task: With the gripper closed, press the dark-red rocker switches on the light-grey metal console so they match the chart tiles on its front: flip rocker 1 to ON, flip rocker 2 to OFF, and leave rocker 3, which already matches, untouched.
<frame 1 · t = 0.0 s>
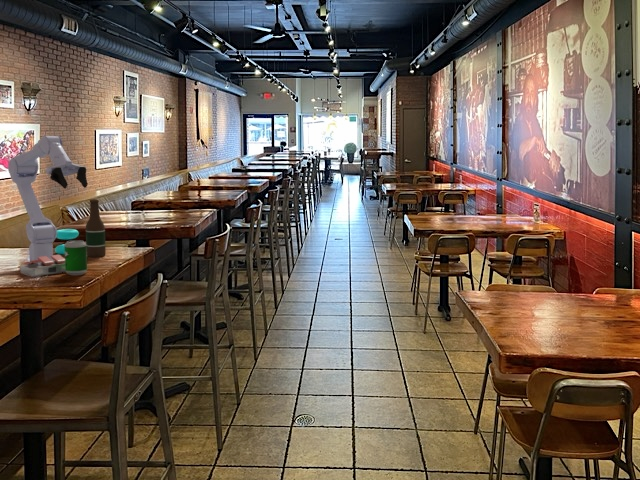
hand: (76, 186, 235), 32 cm above the table, tool tilted 50°, fingers open, 7 cm apart
rocker 1: (32, 262, 238), point 4 cm above the table, hinge at -15.0°
soda can: (76, 274, 241), on the table
console: (46, 272, 243), on the table
donuts: (67, 253, 285), on the table
beer bottle: (96, 256, 279), on the table
rocker 2: (45, 260, 242), point 4 cm above the table, hinge at 15.0°
rocker 3: (58, 258, 246), point 4 cm above the table, hinge at 15.0°
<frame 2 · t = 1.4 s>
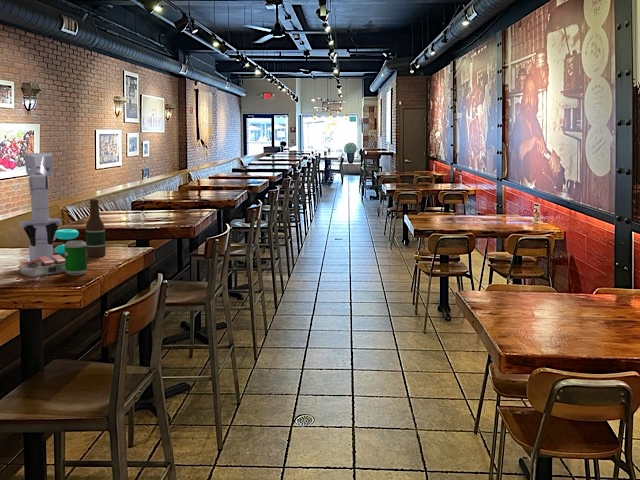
hand: (41, 245, 240), 10 cm above the table, tool pointing down, fingers open, 6 cm apart
nothing on the table moved.
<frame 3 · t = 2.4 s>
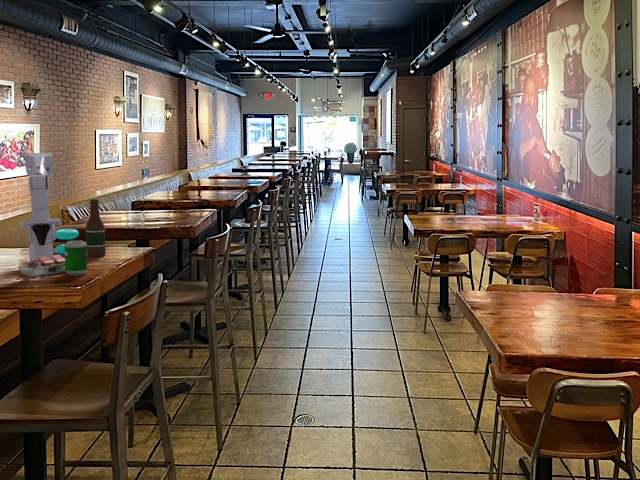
hand: (41, 245, 240), 10 cm above the table, tool pointing down, fingers closed
nothing on the table moved.
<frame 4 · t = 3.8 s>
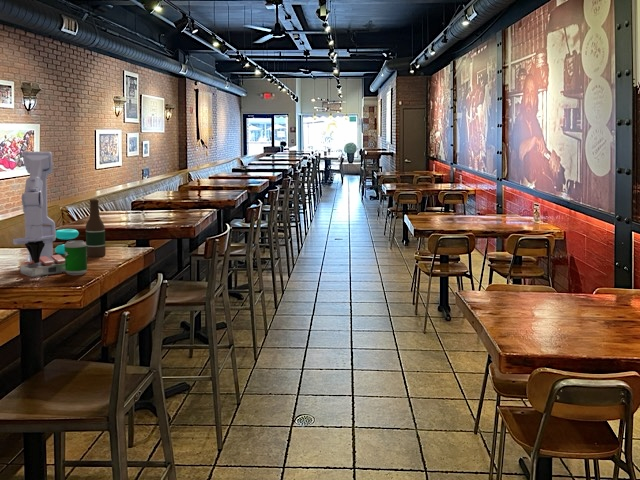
hand: (35, 262, 237), 5 cm above the table, tool pointing down, fingers closed, pressing on rocker 1
rocker 1: (32, 262, 238), point 4 cm above the table, hinge at -13.0°, touching gripper
everything else where it was.
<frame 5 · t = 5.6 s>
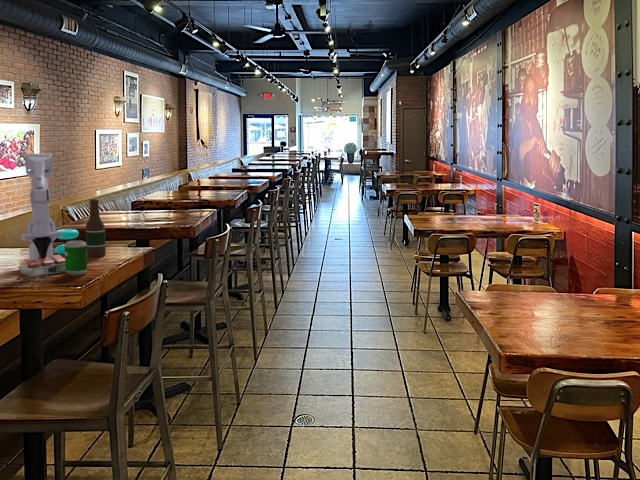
hand: (42, 257, 243), 5 cm above the table, tool pointing down, fingers closed, pressing on rocker 2
rocker 1: (32, 262, 238), point 4 cm above the table, hinge at 11.6°
rocker 2: (45, 260, 242), point 4 cm above the table, hinge at 14.9°, touching gripper
everything else where it was.
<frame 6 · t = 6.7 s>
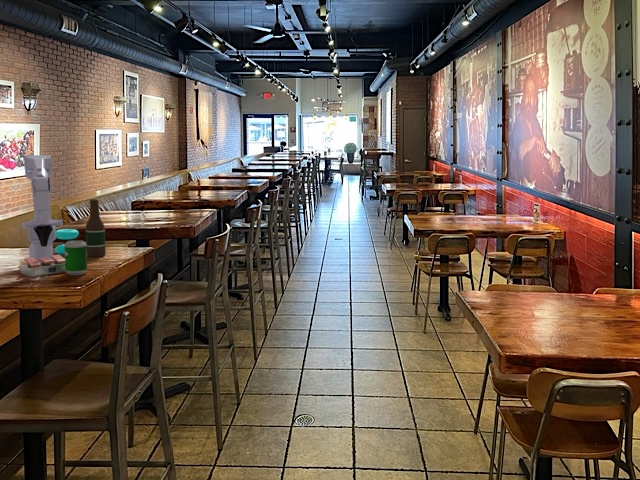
hand: (43, 246, 243), 9 cm above the table, tool pointing down, fingers closed
rocker 1: (32, 262, 238), point 4 cm above the table, hinge at 19.7°, touching console
rocker 2: (45, 260, 242), point 4 cm above the table, hinge at 5.1°
everything else where it was.
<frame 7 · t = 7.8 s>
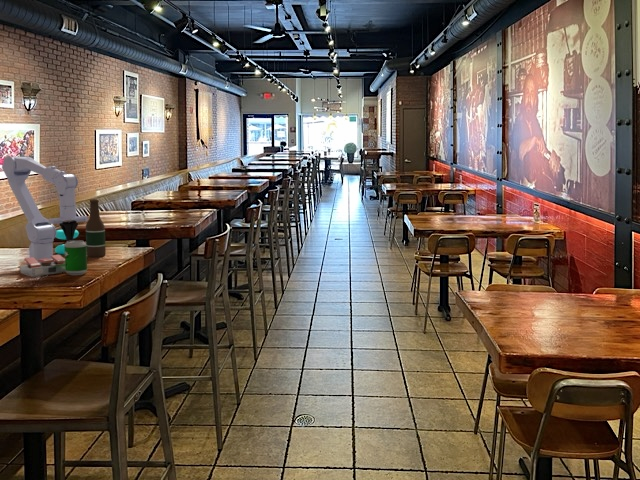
hand: (69, 241, 251), 10 cm above the table, tool pointing down, fingers closed
rocker 1: (32, 262, 238), point 4 cm above the table, hinge at 20.8°, touching console
rocker 2: (45, 260, 242), point 4 cm above the table, hinge at -1.6°
everything else where it was.
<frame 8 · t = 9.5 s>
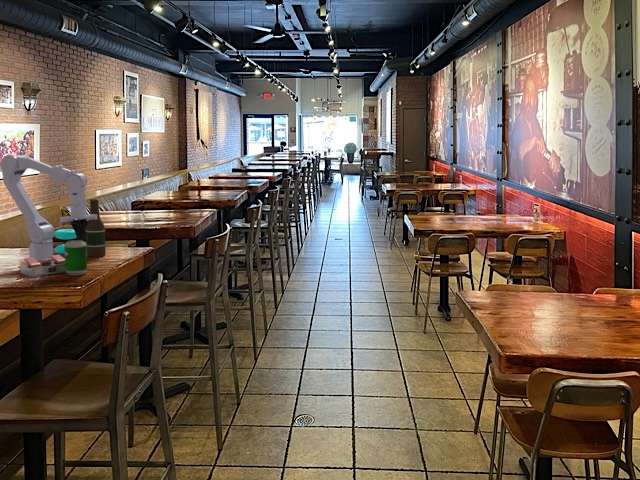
hand: (80, 239, 255), 10 cm above the table, tool pointing down, fingers closed
rocker 1: (32, 262, 238), point 4 cm above the table, hinge at 18.0°
rocker 2: (45, 260, 242), point 4 cm above the table, hinge at -7.3°
everything else where it was.
at the end: rocker 1 at +18° (first picture: -15°); rocker 2 at -7° (first picture: +15°); rocker 3 at +15° (first picture: +15°) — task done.
